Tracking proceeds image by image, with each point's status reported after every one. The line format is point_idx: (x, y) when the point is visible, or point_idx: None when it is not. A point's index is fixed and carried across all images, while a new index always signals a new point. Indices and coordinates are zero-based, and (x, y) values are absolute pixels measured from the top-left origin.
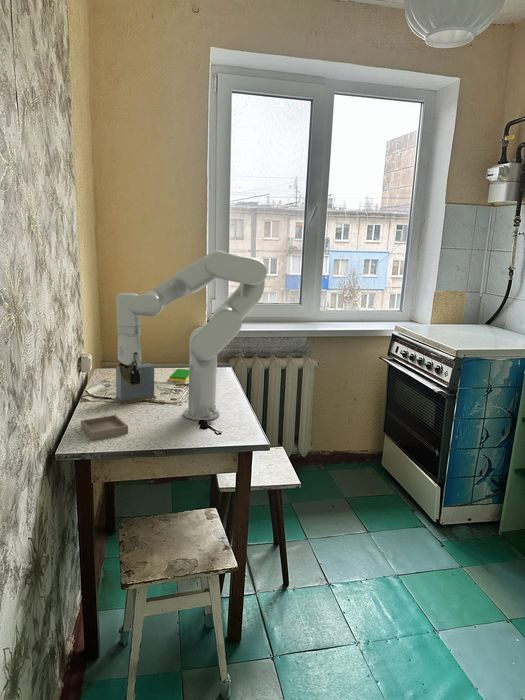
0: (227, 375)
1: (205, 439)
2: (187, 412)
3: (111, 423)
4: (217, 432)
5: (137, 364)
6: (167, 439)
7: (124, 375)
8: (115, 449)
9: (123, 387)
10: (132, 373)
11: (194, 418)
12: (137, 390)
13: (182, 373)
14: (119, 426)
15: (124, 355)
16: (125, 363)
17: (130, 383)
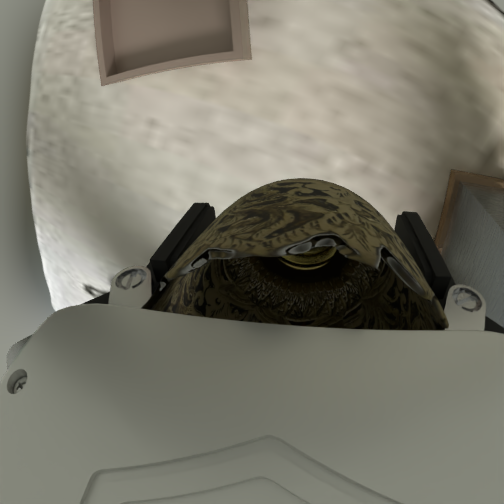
0: None
1: (63, 254)
2: None
3: (200, 32)
4: (94, 292)
5: (12, 352)
6: (65, 181)
7: (236, 202)
8: (42, 41)
9: (484, 225)
10: (125, 269)
11: None
12: (453, 272)
13: None
14: (155, 58)
15: (62, 471)
16: (106, 322)
17: (204, 204)
